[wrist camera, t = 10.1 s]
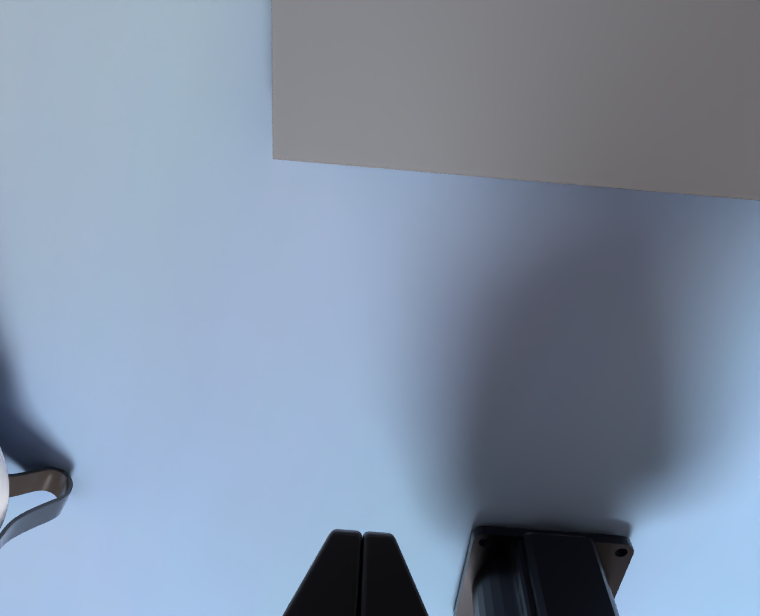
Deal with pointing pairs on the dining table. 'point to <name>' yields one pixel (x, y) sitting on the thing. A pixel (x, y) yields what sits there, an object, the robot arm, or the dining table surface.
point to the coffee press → (20, 483)
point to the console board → (525, 90)
